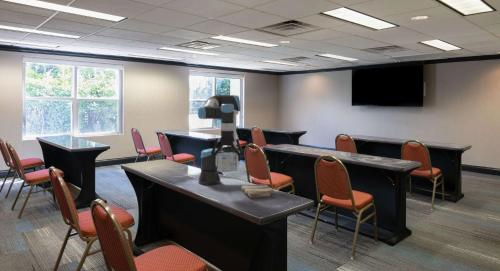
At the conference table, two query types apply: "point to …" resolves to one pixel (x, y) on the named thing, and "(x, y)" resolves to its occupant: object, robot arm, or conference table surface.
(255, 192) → the wavy wood-grain tile
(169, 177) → the conference table surface
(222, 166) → the light bulb box
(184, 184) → the conference table surface
